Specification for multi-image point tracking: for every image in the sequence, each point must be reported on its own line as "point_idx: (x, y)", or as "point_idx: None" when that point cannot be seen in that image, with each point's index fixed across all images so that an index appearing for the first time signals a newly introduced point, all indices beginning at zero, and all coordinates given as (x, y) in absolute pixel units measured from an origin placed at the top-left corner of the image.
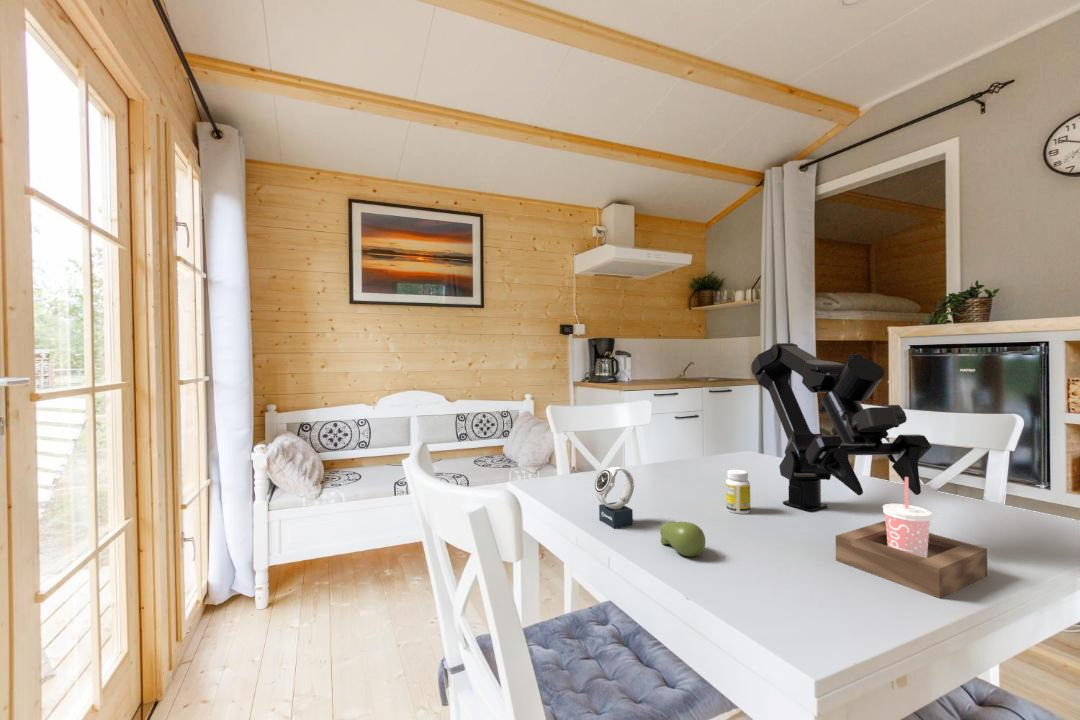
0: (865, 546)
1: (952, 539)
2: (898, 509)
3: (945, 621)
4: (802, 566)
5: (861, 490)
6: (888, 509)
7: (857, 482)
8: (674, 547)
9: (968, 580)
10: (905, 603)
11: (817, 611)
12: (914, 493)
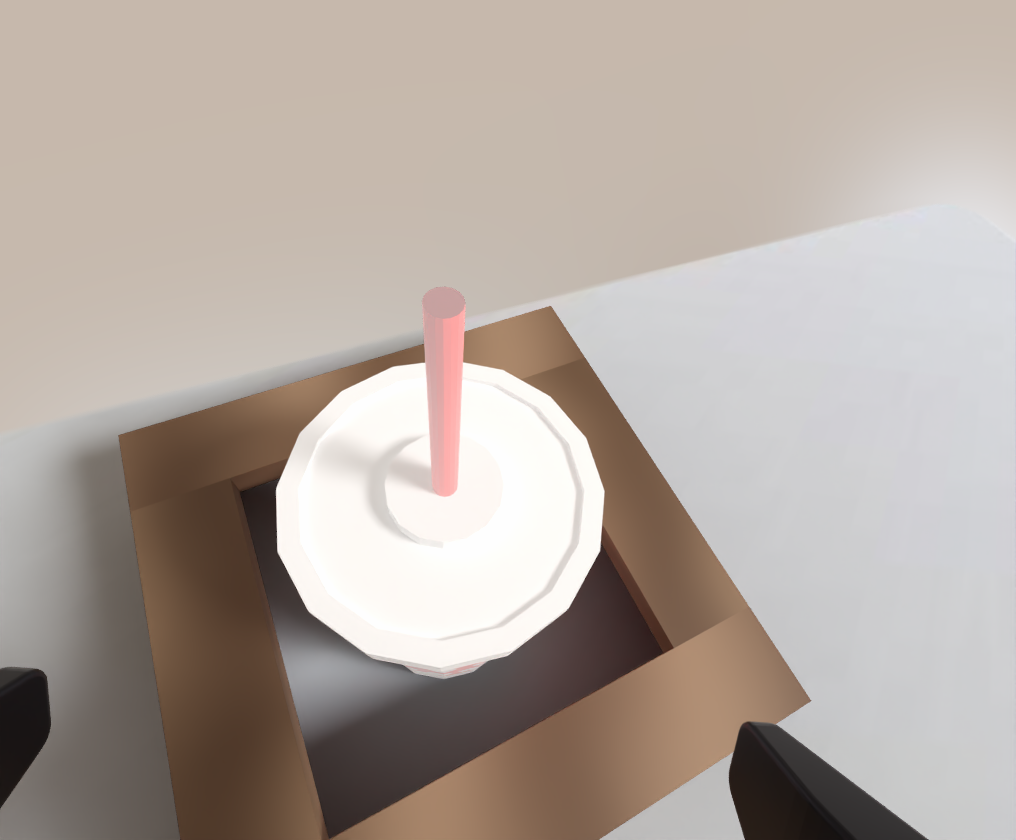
0: (702, 539)
1: (142, 570)
2: (501, 509)
3: (614, 285)
4: (909, 654)
5: (773, 727)
6: (587, 508)
7: (856, 815)
8: None
9: None
10: (658, 362)
11: (916, 357)
12: (33, 756)
